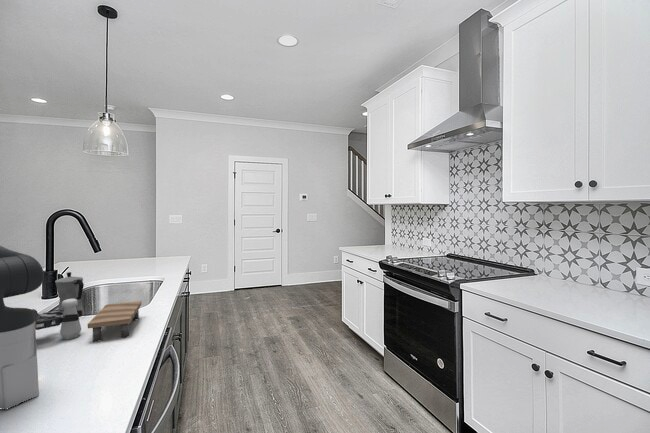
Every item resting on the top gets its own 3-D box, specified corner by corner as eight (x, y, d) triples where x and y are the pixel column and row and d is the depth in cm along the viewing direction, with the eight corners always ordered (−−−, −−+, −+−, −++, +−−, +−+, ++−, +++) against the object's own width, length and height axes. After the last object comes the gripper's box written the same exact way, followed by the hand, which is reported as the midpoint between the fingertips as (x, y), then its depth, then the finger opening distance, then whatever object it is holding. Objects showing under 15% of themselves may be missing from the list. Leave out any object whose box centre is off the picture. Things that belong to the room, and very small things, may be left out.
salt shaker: (69, 341, 108) (68, 302, 108) (55, 339, 110) (53, 301, 109) (85, 334, 114) (84, 297, 114) (72, 333, 115) (70, 296, 115)
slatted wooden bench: (130, 337, 110) (129, 318, 110) (88, 343, 106) (87, 323, 106) (141, 316, 131) (141, 300, 131) (107, 320, 127) (106, 304, 127)
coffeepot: (48, 317, 132) (46, 273, 131) (74, 310, 140) (72, 268, 140) (70, 322, 125) (68, 276, 125) (96, 315, 134) (94, 271, 133)
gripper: (4, 318, 99) (73, 310, 106) (25, 305, 112) (85, 298, 119) (5, 342, 99) (74, 333, 106) (26, 326, 112) (86, 319, 119)
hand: (80, 315), depth 113 cm, fingers open, 3 cm apart
